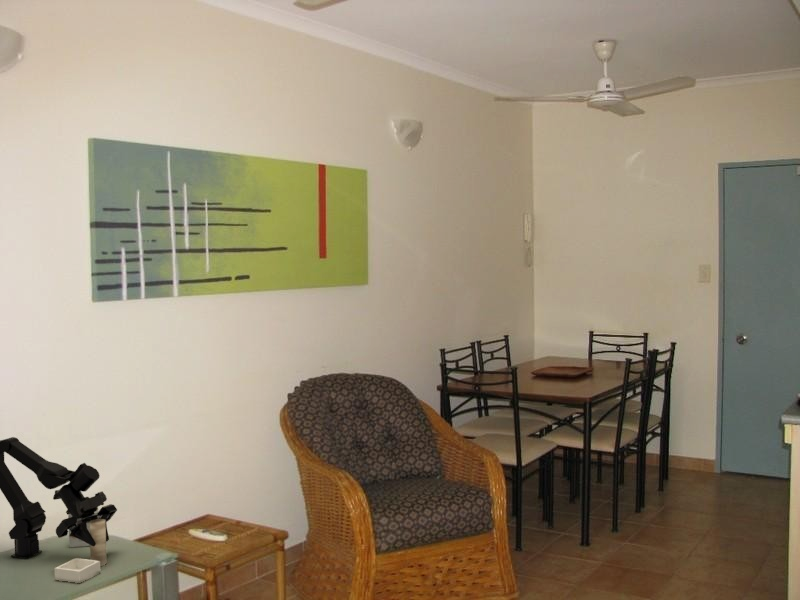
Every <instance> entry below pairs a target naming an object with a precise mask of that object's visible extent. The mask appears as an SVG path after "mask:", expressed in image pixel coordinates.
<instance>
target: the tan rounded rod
mask: <svg viewBox="0 0 800 600" xmlns="http://www.w3.org/2000/svg"><path fill="white" fill-rule="evenodd" d="M106 524H107V522H106V520H105V519H95V520H91V521H90V522H89V525H90V534H91V536H92V537H93V539H94V541H95V543H96V545H95V546H94V547H93V546H91V545H90V546H89V551H90V553H89V554H90V556H89V557H90V559H89V560H96V561H100V567H104V566H105V564H106V563H108V562H107V561H108V560H107V542H106ZM103 565H104V566H103ZM106 565H107V564H106Z"/></svg>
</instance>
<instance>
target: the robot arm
mask: <svg viewBox="0 0 800 600" xmlns="http://www.w3.org/2000/svg"><path fill="white" fill-rule="evenodd" d="M5 453H6V454H7V455H9V456H10V457H12V458H13V459H14V460H16V461H18V462H19V463H20V464H21V465H23V466H25V468H27V469H29V470H30V471H31V472H33V473H34V474H35V475H36V477H37V480H38V481H39V482H40V484H42V485H43V486H44V488H46V489H48V490H53V489H57V488H59V487H61V488H59V489H57V490H54V494H53V497H52V499H53V500H54V501H55V500H61V501H62V503H63V504H64V506H65V508H66V509H67V510H66V512H65V513H66V515H67V516H68V514H71V516H72V517H70V518H68V517H66V518H64V519H62V520H61V522H59V524H58V525H57V527H56V528H55V535H56V536H57V537H58V538H59V539H60V538H63V537H66V536H68V537H69V536H70V537H71V536H73V537H75V538H78V539H80V540H82V541H84V542H86V543H88V544H89V545H91V546H93V547H94V546H95V545H96V543H95V541H94V539H93V537H92V536H91V534H90V533H89V531H88V529H87V524H86V523H89V522H90V521H91V520H95V519H105V520H106V543H107V542H108V541H109V540H110V537H109V532H108V527H107V525H108V524H107V522H109V521H110V520H111V519H112V517H114V515H115V514H116V512H117V511H118V508H117V507H116V506H115V504H107V505H105V502H106V501H107V500H108V498H107V495H106V494H105V493H104V491H99V492H97V493H94V496H90V497H89V496H85V495H84V494H83V492H87V491H88V490H89V489H90V488H91V487H92V486H93V485H94V484H95V483H96V482H97V481H99V478H100V473H99V470H98V469H97V468H95V467H93V466H91V465H88V464H87V463H86V462H83V463H81V464H79V465H78V467H77V469H75V470H71V469H68V468H67V466H66V467H65V466H64V465H62V464H59V463H57V462H52V461H49V460H48V459H45V458H44V457H42V456H41V455H39V454H38V453H37V452H35V451H34V450H32V449H31V448H29V447H28V446H27V445H25V444H23V443H22V442H21V441H20V439H19V438H17V437H14V436H12V437H9V438H5V439H1V440H0V491H1V493H2V494H3V496H4V498H5V499H6V501H7V503H8V504H9V506H10V507H11V508H12V512H13V513H12V515H13V516H12V519H13V521H14V526H13V527H12V528H11V529H10V530H9V531H8V535H9V537H10V538H9V539H10V540H14V553H12V554H10V557H12V558H19V559H25V560H28V559H30V558H32V557H35V556H37V555H39V554H41V553H42V552H43V550H40V540H39V534H37V533H39V532H41V531H43V530H42V529H43V526H44V525H45V523H46V521H47V520H46V519H47V516H46V514H45V513H46V510H44V509H43V507H42V506H41V505H42V504H41V503H40V501H35V502H32V501H30V500H29V499H28V496H26V494H25V493H24V491H23V489H22V488H21V486H20V485H19V483H18V482H17V479H16V478H15V476H14V475H13V473H12V472H11V470H10V469H9V467H8V466H7V464H6V463H5ZM68 482H69V483H68ZM104 505H105V506H104ZM100 506H101V508H100V509H99V507H100ZM97 507H98V508H97ZM97 509H98V513H96V514H95V513H94V512H95V511H97ZM69 529H70V531H71V534H70V535H69Z"/></svg>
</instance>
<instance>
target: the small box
mask: <svg viewBox="0 0 800 600" xmlns="http://www.w3.org/2000/svg"><path fill="white" fill-rule="evenodd" d="M97 508H98V509H97V511H95V512H94V513H95V514H96V513H98V512H99V506H98V507H97ZM70 517H72V516H71V514H68V515H67V518H70ZM86 524H87V529H88V531H89V533H90V525H89V523H86ZM70 534H71V531H70V529H68V543H69V544H68V546H69V548H76V547H77V548H79V547H90V545H89V544H88V543H86V542H84V541H82V540H80V539H78V538H75V537H73V536H71V537H70V536H69V535H70Z"/></svg>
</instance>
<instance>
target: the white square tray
mask: <svg viewBox="0 0 800 600" xmlns="http://www.w3.org/2000/svg"><path fill="white" fill-rule="evenodd" d="M99 574H101V566H100V561H96V560H90V559H89V558H88V559H86V558H80V557H75V558H72V559H70V560H69V561H66V562H65V563H63V564H60V565H58V566H57V567H54V581H55V580H59V581H58V582H62V581H68V582H67V583H70V582H75V583H74V584H77V583H81V582H82V583H84V582H86V581H88V580H90V579H92V578H93V577H95V576H97V575H99ZM85 580H86V581H85ZM83 581H84V582H83ZM82 583H81V584H82Z"/></svg>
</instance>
